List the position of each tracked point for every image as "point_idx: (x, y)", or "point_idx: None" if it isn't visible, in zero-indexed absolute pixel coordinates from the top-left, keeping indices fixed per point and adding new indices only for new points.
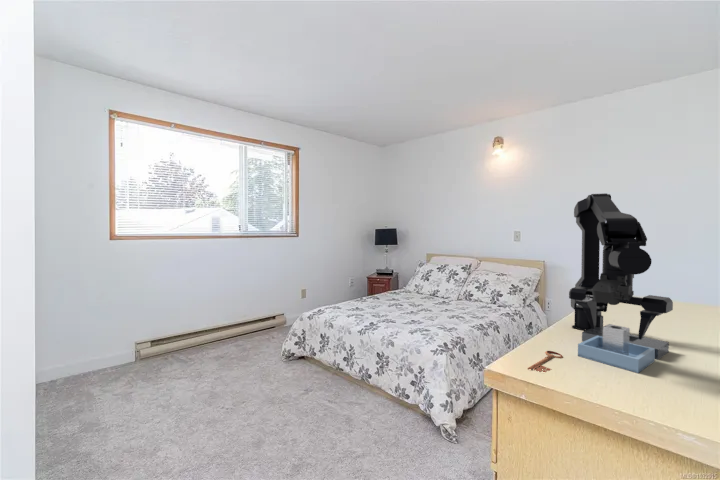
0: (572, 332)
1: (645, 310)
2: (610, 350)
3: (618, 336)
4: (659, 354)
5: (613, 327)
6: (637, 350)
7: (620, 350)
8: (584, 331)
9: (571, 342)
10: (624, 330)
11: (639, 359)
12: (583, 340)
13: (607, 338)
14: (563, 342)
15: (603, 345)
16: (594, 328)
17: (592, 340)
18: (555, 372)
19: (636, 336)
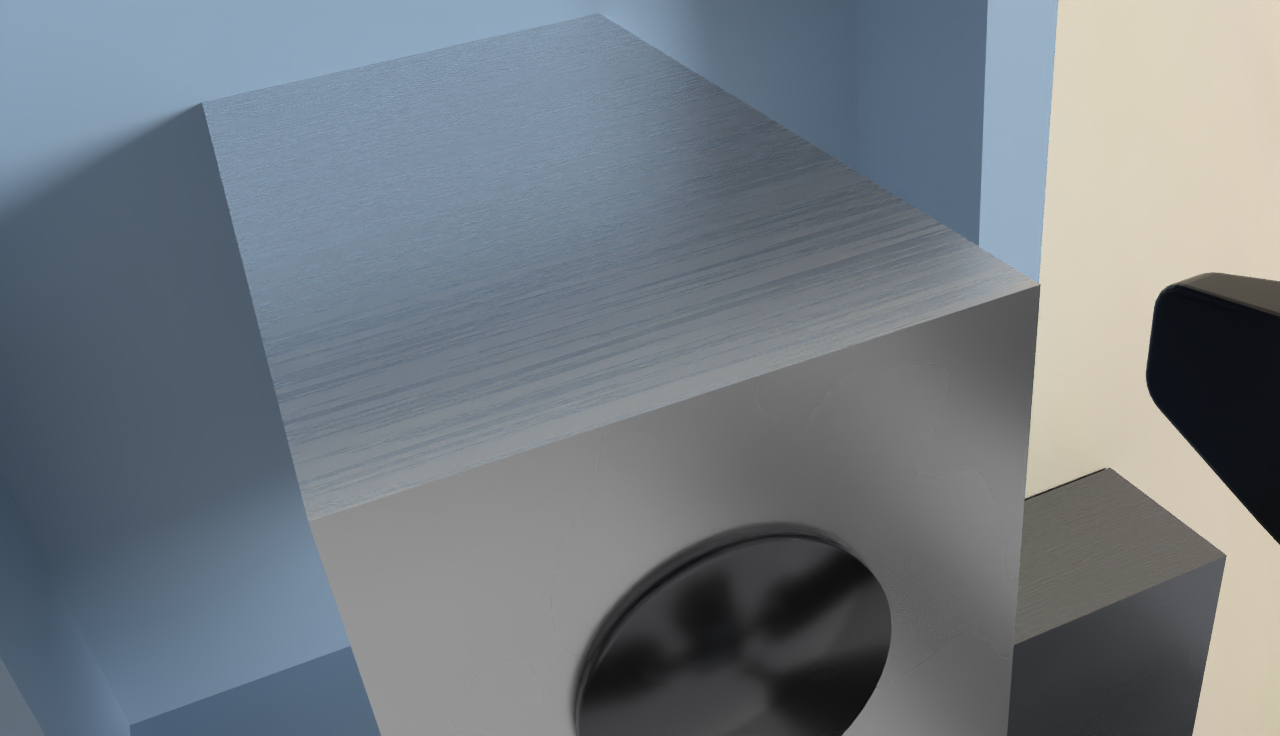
0: (1277, 638)
1: None
2: (492, 87)
3: (425, 320)
4: None
5: (763, 538)
6: (329, 728)
7: (281, 164)
8: (1208, 617)
9: (1190, 252)
10: (346, 626)
11: None
12: (1101, 483)
13: (684, 172)
14: (1274, 118)
15: (677, 78)
16: (1168, 340)
17: (972, 233)
18: None
19: None
